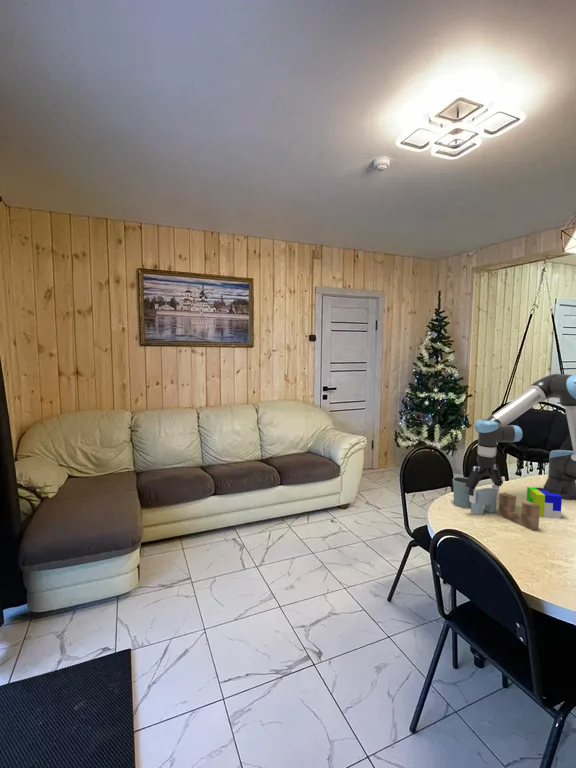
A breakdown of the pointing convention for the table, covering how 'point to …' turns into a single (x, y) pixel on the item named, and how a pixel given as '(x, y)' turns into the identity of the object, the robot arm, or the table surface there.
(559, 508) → the puzzle toy
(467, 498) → the grey cup
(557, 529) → the table surface
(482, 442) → the robot arm
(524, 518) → the walnut upright
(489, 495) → the grey arch block
